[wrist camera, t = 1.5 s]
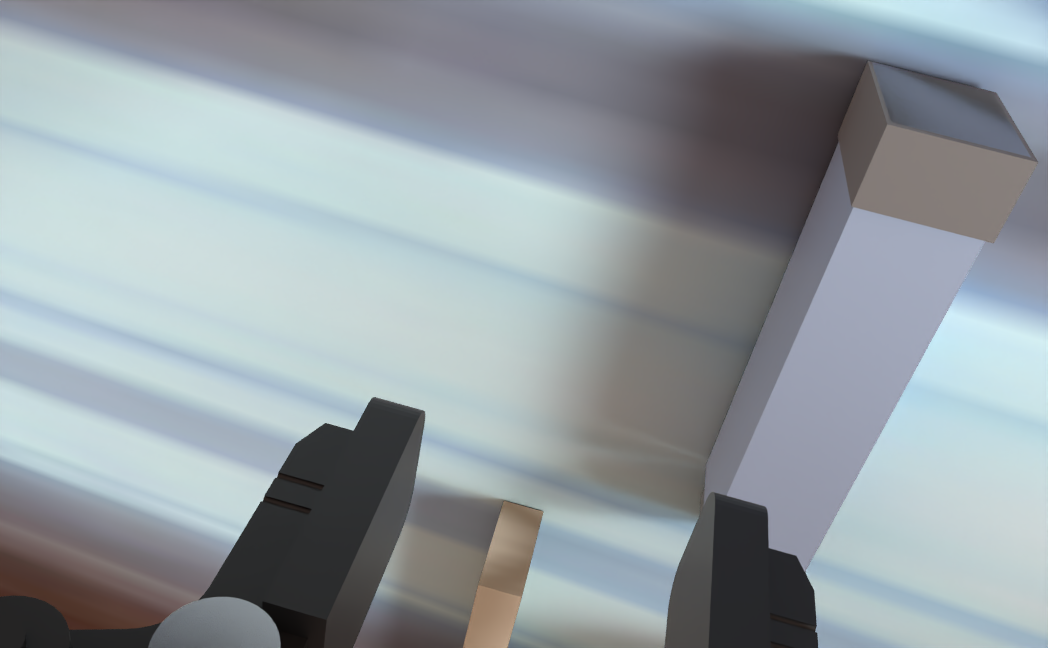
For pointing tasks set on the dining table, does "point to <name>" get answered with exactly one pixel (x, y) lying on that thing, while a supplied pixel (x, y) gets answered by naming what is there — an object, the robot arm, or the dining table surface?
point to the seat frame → (503, 577)
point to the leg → (865, 293)
